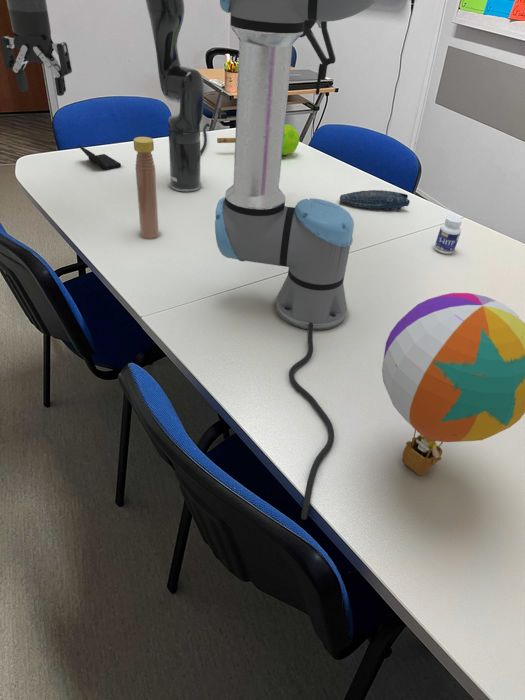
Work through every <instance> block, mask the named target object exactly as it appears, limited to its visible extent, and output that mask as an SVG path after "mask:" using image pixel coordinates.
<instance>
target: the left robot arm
mask: <svg viewBox="0 0 525 700" xmlns="http://www.w3.org/2000/svg"><path fill="white" fill-rule="evenodd" d="M145 4H146V9H147V13H148V17H149V21H150V26H151V31H152V38H153V41H154V48H155V53H156V55H155V56H156V62H157V64H156V65H157V71H158V72H157V73H158V79H159V80H158V81H159V85H160V86H159V87H160V90H161V92H162V94H163V96H164V98H165V99H167V100H169V101H171V102H174V103H178V104H179V112H178V113H177V114H173V115H171V116H169V118H168V120H167V126H168V127H167V128H168V130H167V131H168V151H169V152H168V153H169V154H168V155H169V157H168V158H169V186H170V188H171V189H172V190H174V191H176V192H177V191H178V192H183V193H184V192H185V193H188V192H189V193H191V192H196V191H198V190H200V189H201V187H202V184H201V155H202V153H203V152H204V150H205V149H206V146H207V141H208V136H207V132H206V129H207V128H208V127H210V124H209V122H207V123H206V124H204V126H203V129H202V131H203V139H204V140H203V145H202V147H201V125H202V124H201V123H202V121H203V116H204V101H205V100H204V99H205V98H204V97H205V84H204V79H203V76H202V75H203V74H202V73H201V72H200V71H199V70H197V69H194V68H191V67H186V66H183V65H182V64H181V60H180V57H179V50H178V40H179V35H180V32H181V28H182V26H183V21H184V18H185V2H184V0H145ZM6 5H7V9H8V14H9V19H10V20H9V21H10V24H11V31H12V32H13V35H14V36H13V37H11V36H10V35H6V36H2V37H0V47H1V51H2V59H3V65H4V68H5V69H8V70H11V71H13V72H14V75H15V80H16V84H17V88H18V89H19V90H20V92H24V93H25V92H27V91H29V85H28V84H29V83H28V79H27V74H26V71H24V69H25V68H26V66H27V64H28V63H30V64H32V63H36V64H38V65H43V64H44V66H45V67H46V68H47V69H48V70H50V71H51V73H52V74H53V75H54V77H53V79H54V85H55V91H56V95H57V96H58V97H62V96H64V95H65V93H66V91H67V87H66V81H65V80H66V79H65V77H66V76H68V75H69V74H71V73H73V68H72V63H71V58H70V53H69V46H68V44H67V42H66V41H63V42H54V41H53V39H52V30H51V25H50V24H51V23H50V17H49V10H48V4H47V0H6ZM14 48H16V49H17V50H18V54H17V57H15V53H14ZM54 51H55V53H56V54H57V55H58V59H57V58H56V57H55V55H54V54H53V53H54Z"/></svg>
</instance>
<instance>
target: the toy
mask: <svg viewBox="0 0 525 700" xmlns="http://www.w3.org/2000/svg"><path fill="white" fill-rule="evenodd" d="M383 353H384V354H383V361H382V366H381V375H382V382H383V385H384V387H385V390H386V392H387V394H388V396H389V399H390V401H391V403H392V405H393V408H394V409H395V410H396V411H397V412H398V413H399V415H400V416H401V417H402V418H403V419H404V420H405V421H406V423H408V424H409V426H411V427H412V428H413V429H414V433H413V437H412V438H411V441H410V440H409V441H406V443H405V447H404V449H403V453H402V457H401V458H402V463H403V464H405V466H407V467H408V468H409V469H411V470H412V471H413V472H414V473H416V474H417V475H418V476H420V477H423V476H424V475H425V474H427V472H428V471H430V470H432V468H434V467H435V466H436V464H437V463H438V462H439V461H442V455H443V449H442V448H441V446H442V444H443V443H461V442H476V441H478V442H479V441H484V440H486V439H488V438H491V437H493V436H496V435H497V434H500V433H502V432H504V431H506V430H508V429H510V428H511V427H513V426H514V425H515V424H517V423H518V422H519V421H520V420H521V419H522V417H523V416H524V415H525V322H524V321H523V320H522V318H521V317H520V316H519V315H518V314H517V313H516V312H515V311H514V310H513V309H511V308H510V307H508V306H507V305H505V304H503V303H502V302H500V301H498V300H495V299H493V298H491V297H488V296H485V295H480V294H477V293H475V294H474V293H470V292H449V293H445V294H442V295H437V296H433V297H431V298H428V299H426V300H424V301H421V302H420V303H417V304H416V305H415V306H414V307H413V308H411V309H410V310H409V311H408V312H407V313H406V314H405V315H404V316H402V317H401V318H400V320H399V321H397V323H396V324H395V325H394V327H393V328H392V329H391V331H390V332H389V334H388V337H387V340H386V341H385V347H384V352H383ZM417 433H418V434H419V435H417V436H416V434H417ZM437 442H439V445H437Z"/></svg>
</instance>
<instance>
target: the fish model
mask: <svg viewBox="0 0 525 700" xmlns="http://www.w3.org/2000/svg"><path fill="white" fill-rule="evenodd" d="M410 202H411V201H410V200H409V195H408V194H406V193H403V192H402V193H401V192H399V191H392V190H382V189H380V190H379V189H377V190H376V189H368V190H360V191H352V192H348V193H344V194H341V195H340V196H339V203H343V204H346V205H349V206H351V207H357V208H362V209H371V210H372V209H374V210H384V211H385V210H386V211H391V210H394V209H397V210H402V208H404V207H408V206H409V205H410Z"/></svg>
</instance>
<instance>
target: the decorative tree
mask: <svg viewBox="0 0 525 700" xmlns="http://www.w3.org/2000/svg"><path fill="white" fill-rule="evenodd" d="M216 142H217V144H235V137H217V138H216ZM299 143H300V134H299V131H298V130H296V129H295V127H294V126H293V125H291V124H285V128H284V138H283V148H282V156H289V155H290V154H292V153H295V151H296V150H297V148H298V145H299Z"/></svg>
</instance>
